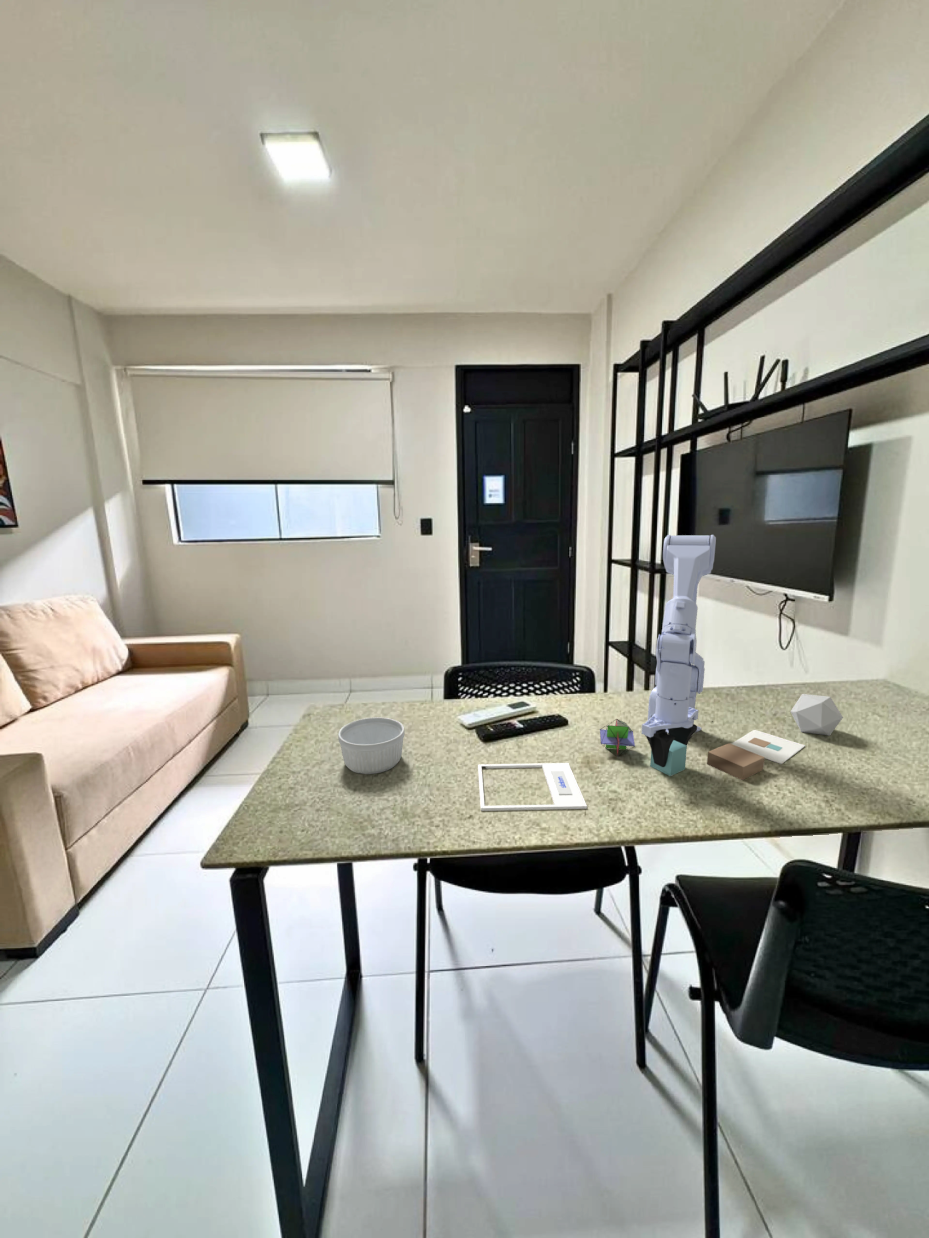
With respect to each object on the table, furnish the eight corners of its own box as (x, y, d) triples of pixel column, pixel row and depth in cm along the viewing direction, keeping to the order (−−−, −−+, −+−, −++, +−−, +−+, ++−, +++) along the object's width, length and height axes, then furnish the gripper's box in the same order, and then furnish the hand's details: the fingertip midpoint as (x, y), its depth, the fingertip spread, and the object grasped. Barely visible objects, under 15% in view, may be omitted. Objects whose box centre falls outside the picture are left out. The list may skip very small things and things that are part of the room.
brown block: (706, 765, 95) (708, 751, 94) (727, 756, 98) (729, 743, 98) (741, 781, 89) (743, 767, 88) (762, 771, 92) (764, 757, 92)
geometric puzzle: (637, 755, 94) (636, 715, 98) (601, 752, 96) (601, 713, 99) (632, 761, 101) (631, 723, 104) (598, 758, 102) (598, 721, 105)
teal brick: (650, 766, 95) (651, 742, 94) (664, 759, 97) (666, 736, 96) (670, 776, 91) (672, 751, 90) (684, 769, 93) (686, 745, 92)
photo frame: (587, 805, 81) (480, 807, 81) (586, 811, 81) (480, 812, 81) (568, 761, 96) (477, 763, 96) (568, 767, 96) (477, 768, 96)
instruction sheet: (728, 745, 102) (729, 744, 102) (754, 730, 109) (754, 729, 109) (781, 764, 94) (781, 762, 94) (805, 746, 101) (805, 744, 101)
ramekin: (415, 750, 103) (413, 719, 102) (389, 782, 91) (387, 748, 89) (359, 743, 107) (357, 714, 105) (327, 773, 94) (324, 740, 93)
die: (833, 729, 110) (807, 689, 113) (860, 726, 102) (831, 683, 105) (800, 744, 110) (775, 703, 113) (824, 742, 101) (796, 698, 105)
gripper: (667, 710, 84) (662, 781, 86) (715, 693, 91) (709, 759, 94) (633, 698, 90) (630, 765, 92) (681, 683, 97) (677, 745, 100)
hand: (667, 761), depth 94 cm, fingers closed on teal brick, 4 cm apart
